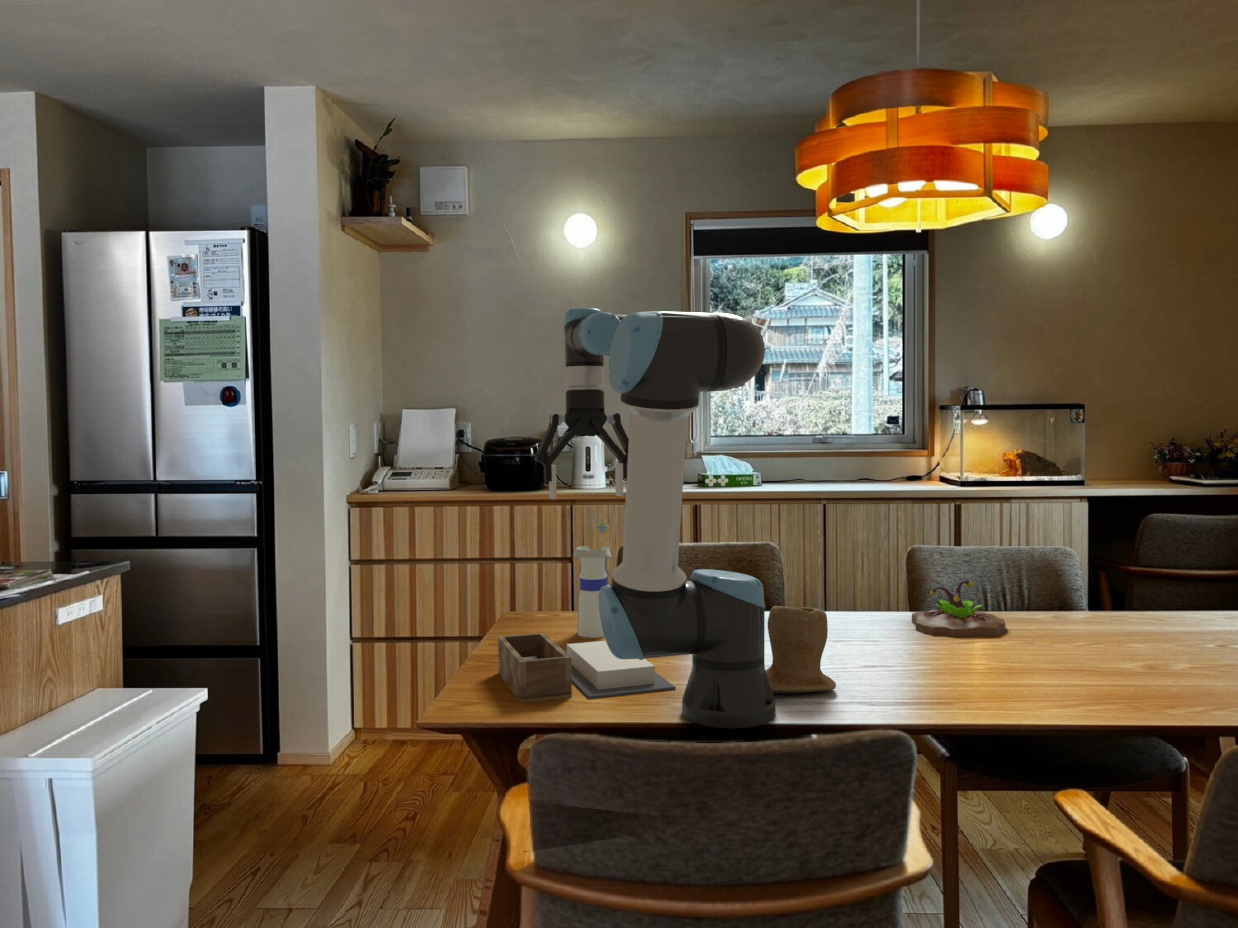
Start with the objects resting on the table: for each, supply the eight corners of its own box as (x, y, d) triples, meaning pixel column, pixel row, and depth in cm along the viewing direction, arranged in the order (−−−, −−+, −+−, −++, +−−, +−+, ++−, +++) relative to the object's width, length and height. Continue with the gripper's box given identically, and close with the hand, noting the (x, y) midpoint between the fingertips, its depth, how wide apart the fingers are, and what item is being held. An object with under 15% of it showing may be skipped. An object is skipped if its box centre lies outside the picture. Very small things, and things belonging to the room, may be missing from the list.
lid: (654, 683, 171) (654, 665, 171) (598, 689, 168) (598, 671, 168) (617, 655, 192) (617, 639, 192) (566, 660, 189) (566, 644, 189)
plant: (1013, 641, 203) (1014, 588, 202) (917, 638, 207) (918, 586, 206) (996, 621, 222) (996, 573, 222) (909, 618, 226) (909, 571, 226)
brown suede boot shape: (823, 679, 175) (823, 598, 174) (842, 698, 163) (842, 611, 162) (741, 681, 174) (741, 600, 173) (754, 700, 162) (753, 613, 161)
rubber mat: (675, 689, 169) (675, 686, 169) (588, 698, 164) (588, 696, 164) (625, 652, 196) (625, 650, 196) (549, 659, 191) (549, 657, 191)
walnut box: (571, 697, 165) (571, 657, 165) (520, 702, 163) (520, 662, 162) (544, 668, 184) (544, 632, 184) (498, 673, 182) (497, 636, 181)
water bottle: (577, 629, 218) (575, 520, 217) (614, 629, 217) (612, 520, 216) (572, 637, 210) (570, 524, 209) (610, 637, 209) (609, 524, 208)
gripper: (638, 389, 194) (640, 493, 195) (518, 389, 186) (520, 498, 187) (651, 388, 187) (652, 496, 188) (526, 388, 179) (528, 501, 180)
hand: (586, 497), depth 188 cm, fingers open, 13 cm apart
